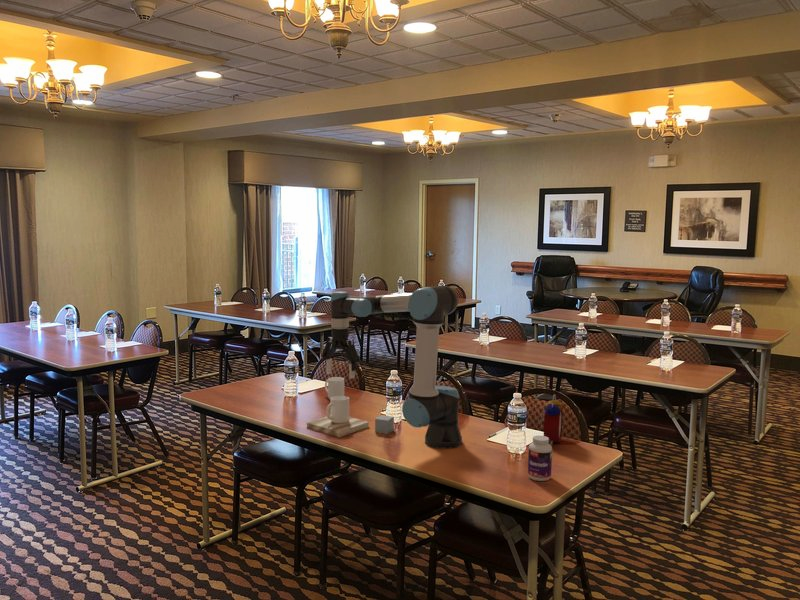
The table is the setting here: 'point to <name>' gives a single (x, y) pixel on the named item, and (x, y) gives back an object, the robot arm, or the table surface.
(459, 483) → the table surface
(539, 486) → the table surface
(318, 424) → the birch slab
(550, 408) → the red spray bottle
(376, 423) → the grey cube
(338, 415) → the mug
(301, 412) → the table surface
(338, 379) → the cup
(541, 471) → the pill bottle
